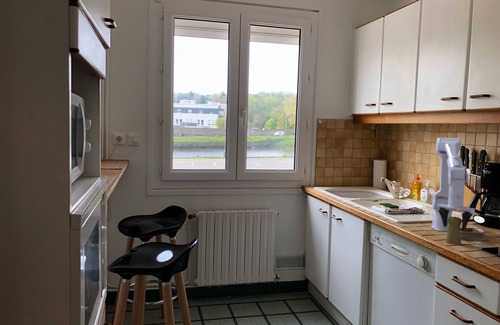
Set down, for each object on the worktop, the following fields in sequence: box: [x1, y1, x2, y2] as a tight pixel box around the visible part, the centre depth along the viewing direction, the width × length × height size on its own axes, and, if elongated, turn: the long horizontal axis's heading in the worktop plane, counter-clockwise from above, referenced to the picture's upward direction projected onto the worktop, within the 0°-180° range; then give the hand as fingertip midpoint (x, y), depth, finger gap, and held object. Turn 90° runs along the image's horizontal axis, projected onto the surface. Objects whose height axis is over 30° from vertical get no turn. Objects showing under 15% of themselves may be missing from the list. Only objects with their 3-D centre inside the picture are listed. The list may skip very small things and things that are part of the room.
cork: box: [445, 216, 462, 246], centre depth 179 cm, size 6×6×11 cm
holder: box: [460, 226, 485, 242], centre depth 189 cm, size 10×10×4 cm
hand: (454, 228), depth 179 cm, fingers open, 7 cm apart
